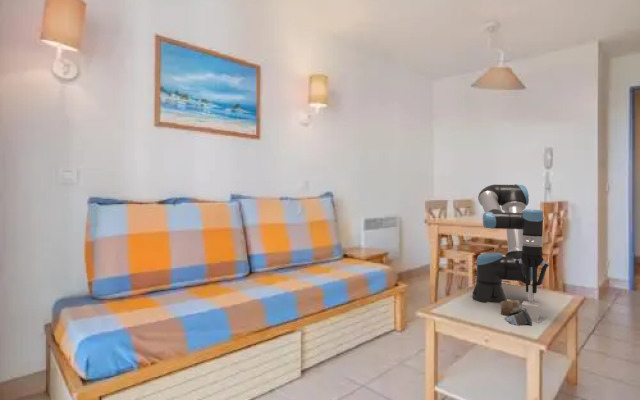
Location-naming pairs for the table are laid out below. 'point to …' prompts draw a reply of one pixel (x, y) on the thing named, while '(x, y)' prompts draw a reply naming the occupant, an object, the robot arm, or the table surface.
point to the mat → (539, 319)
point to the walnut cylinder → (506, 308)
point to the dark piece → (519, 317)
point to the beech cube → (514, 304)
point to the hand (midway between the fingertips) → (531, 300)
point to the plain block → (532, 309)
